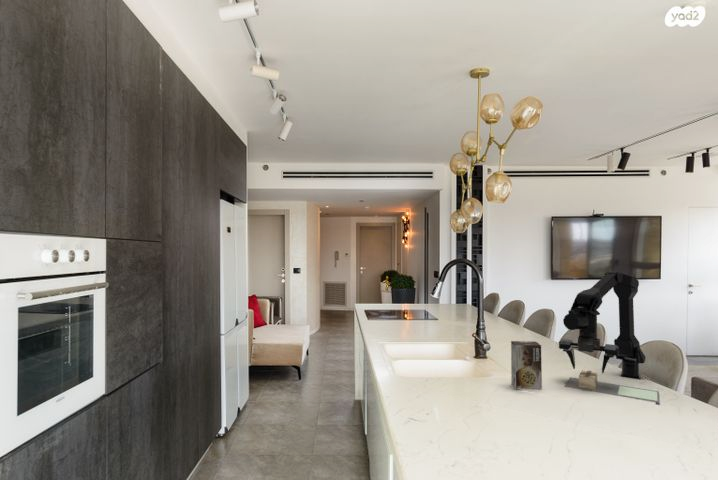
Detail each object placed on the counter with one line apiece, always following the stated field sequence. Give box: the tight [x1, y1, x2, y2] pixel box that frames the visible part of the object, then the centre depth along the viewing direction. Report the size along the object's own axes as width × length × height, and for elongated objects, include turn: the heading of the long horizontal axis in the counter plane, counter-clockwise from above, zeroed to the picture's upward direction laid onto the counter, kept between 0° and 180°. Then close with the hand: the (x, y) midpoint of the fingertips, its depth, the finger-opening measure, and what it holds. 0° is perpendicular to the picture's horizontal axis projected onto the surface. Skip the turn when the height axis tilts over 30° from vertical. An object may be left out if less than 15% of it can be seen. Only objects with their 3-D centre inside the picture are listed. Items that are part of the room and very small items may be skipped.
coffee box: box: [510, 340, 543, 391], centre depth 152 cm, size 9×6×16 cm
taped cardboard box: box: [578, 369, 598, 390], centre depth 154 cm, size 9×5×4 cm, turn 145°
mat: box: [563, 376, 660, 406], centre depth 150 cm, size 14×28×1 cm, turn 55°
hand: (588, 370), depth 154 cm, fingers open, 9 cm apart
